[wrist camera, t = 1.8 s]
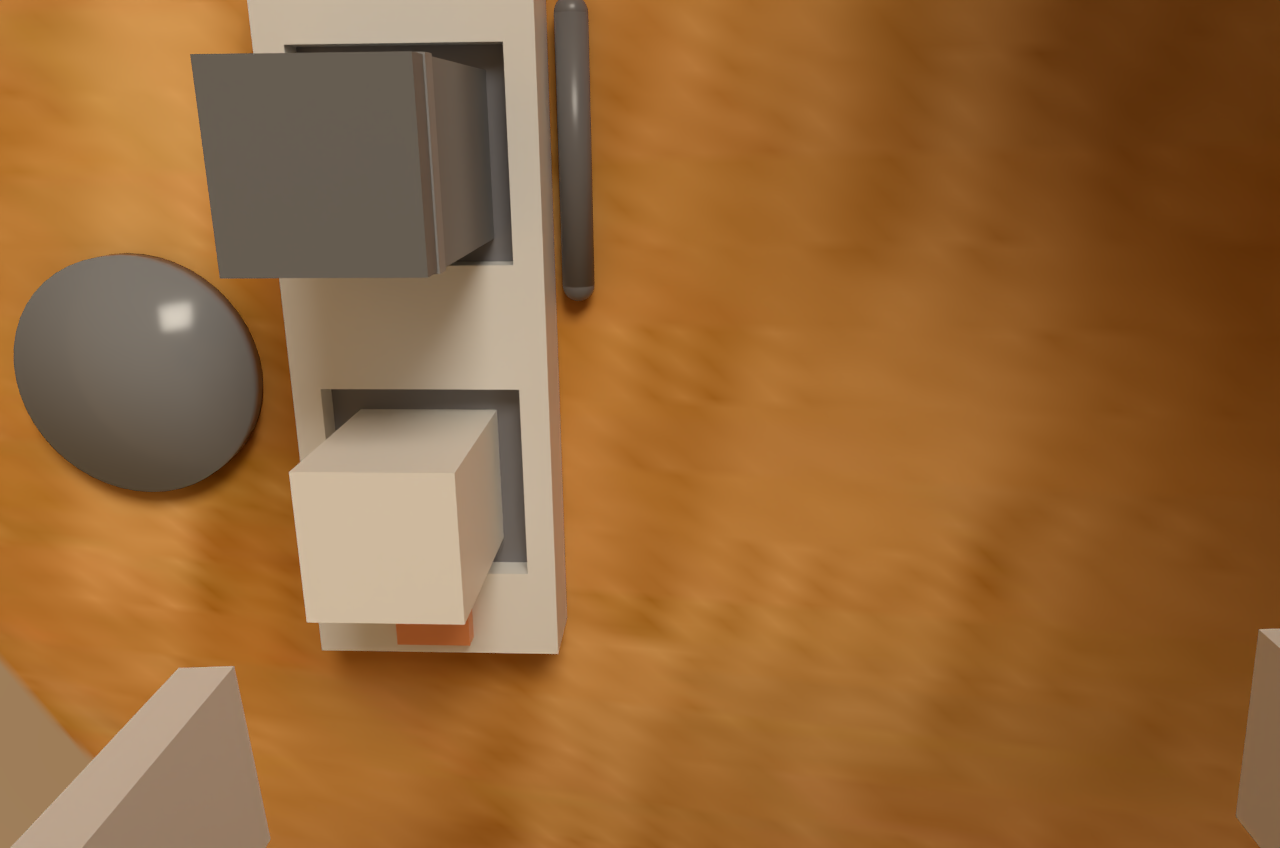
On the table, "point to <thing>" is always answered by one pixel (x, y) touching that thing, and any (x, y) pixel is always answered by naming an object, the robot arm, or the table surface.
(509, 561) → the strip
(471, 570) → the white plug
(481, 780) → the table surface
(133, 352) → the grey disc
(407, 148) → the block
